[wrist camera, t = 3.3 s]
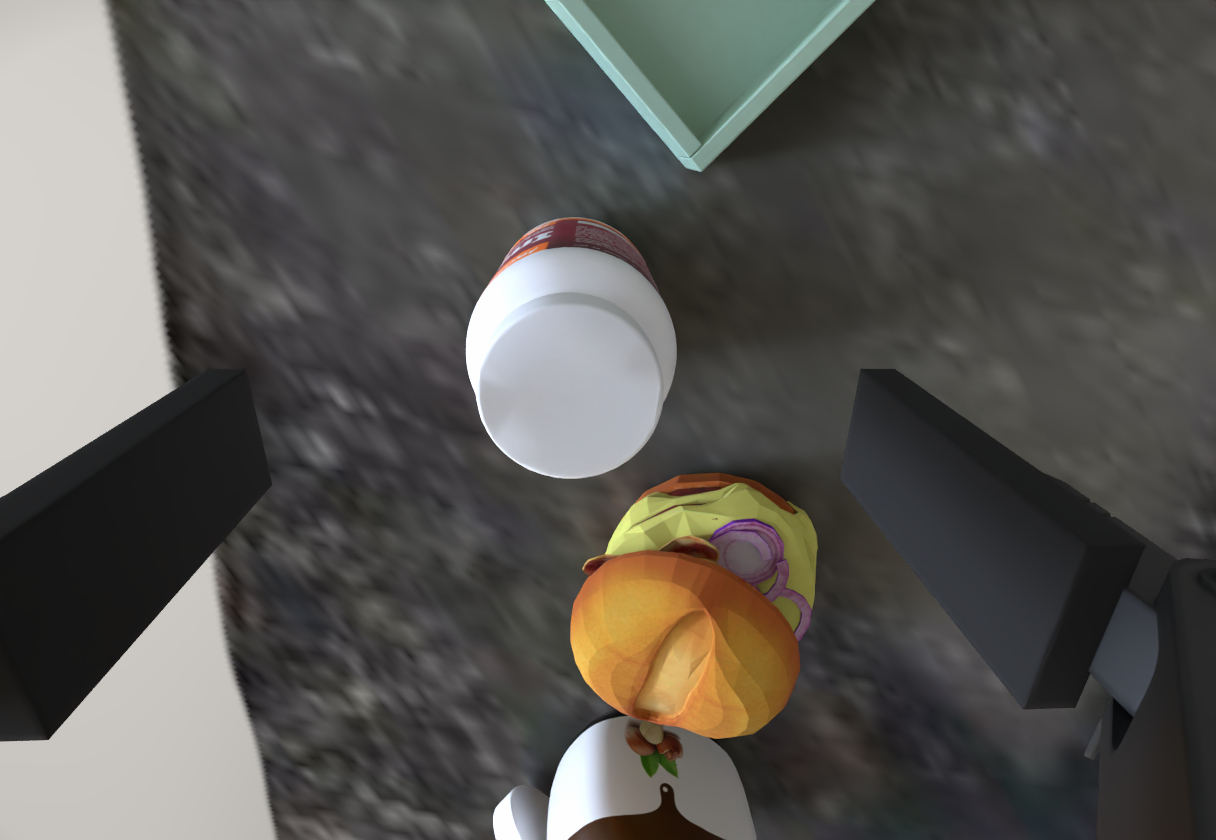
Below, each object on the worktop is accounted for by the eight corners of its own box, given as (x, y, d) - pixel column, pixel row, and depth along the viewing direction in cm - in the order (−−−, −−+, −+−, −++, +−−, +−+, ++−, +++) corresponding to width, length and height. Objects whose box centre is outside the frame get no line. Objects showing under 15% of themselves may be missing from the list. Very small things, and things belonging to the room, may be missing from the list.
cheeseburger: (834, 593, 32) (868, 786, 24) (638, 618, 35) (606, 794, 27) (789, 426, 28) (811, 587, 19) (572, 473, 31) (510, 626, 23)
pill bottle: (533, 186, 24) (500, 219, 14) (677, 256, 25) (744, 334, 15) (475, 331, 26) (409, 452, 16) (610, 389, 27) (629, 535, 17)
